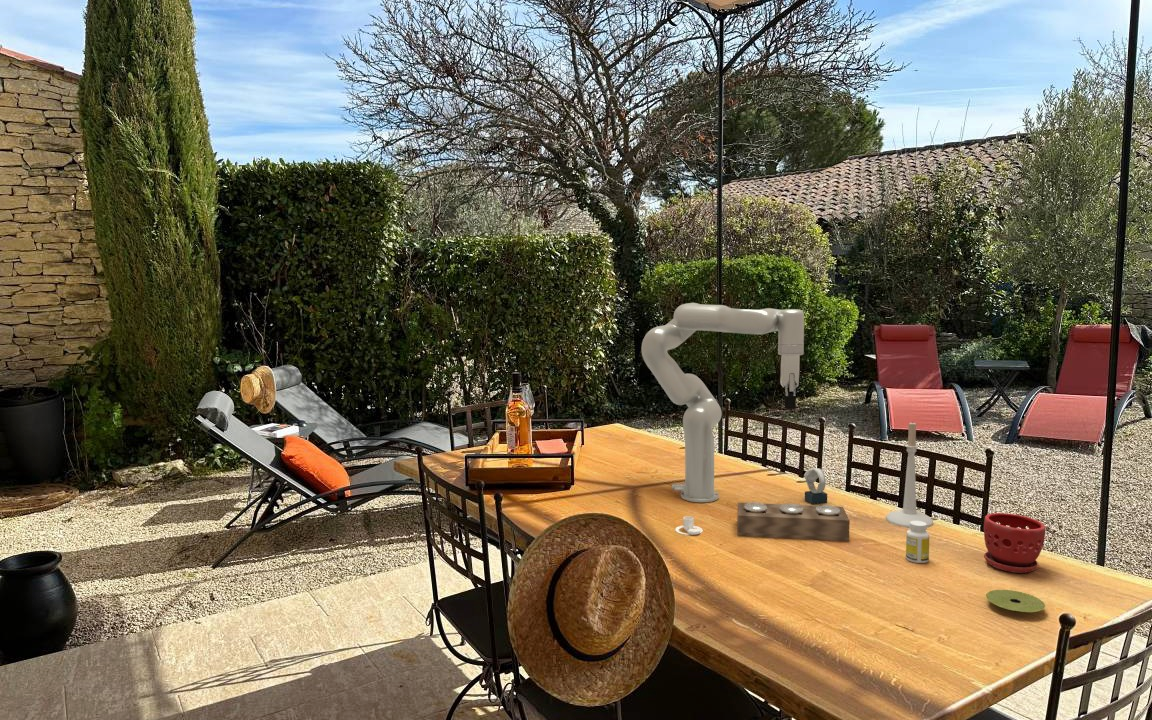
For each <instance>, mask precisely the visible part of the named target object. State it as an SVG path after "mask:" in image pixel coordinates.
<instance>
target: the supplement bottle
mask: <svg viewBox="0 0 1152 720" xmlns="http://www.w3.org/2000/svg"><path fill="white" fill-rule="evenodd" d="M927 530H928V527H927V524H926V523H925V522H922V521H911V522H910V528H908V530H907V531H906V535H905V536H906V537H905V538H906V540H905V541H906V543H905V558H906V559H907V561H909V562H911V563H917V564H926V563H928V562H929V559H930V533H929V532H928V531H927Z"/></svg>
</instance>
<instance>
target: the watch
mask: <svg viewBox="0 0 1152 720" xmlns="http://www.w3.org/2000/svg"><path fill="white" fill-rule="evenodd" d="M803 477H804V478H805V483H806V484H807V487H808V489H809V490H808V491H804V501H805V502H806V503H807V504H809V505H811V506H816V505H824V504H828V493H827V492H825V489H826V482H827V481H826V475H825V473H824V471H823V470H822V469H821V468H818V467H817V468H816V467H812V468H811V467H810V468H809V469H807V470H806V471H805V473H804V475H803ZM817 479H818V481H819V482H818V484H817V488H816V485H815V482H816V480H817Z"/></svg>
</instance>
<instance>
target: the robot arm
mask: <svg viewBox="0 0 1152 720" xmlns="http://www.w3.org/2000/svg"><path fill="white" fill-rule="evenodd" d="M697 331H703V332H705V331H706V332H707V331H708V332H721V333H733V334H743V335H744V334H745V335H766V334H769V333H773V332H778V335H777V339H778V342H777V344H778V345H777V351H778V355H779V356H781V358H780V381H779V382H780V385H781V387H782V388H784V389H785V390H784V391H785V394H784V409H785V410H795V409H796V406H797V402H796V401H797V398H796V397H797V396H796V388H798V387H799V382H800V381H799V380H800V359H801V358H800V356H803V355H804V353H805V352H804V347H805V346H804V345H805V342H804V341H805V340H804V339H805V313H804V311H803V310H802V309H799V308H797V309H796V308H794V309H793V308H791V309H789V308H788V309H787V308H786V309H777V308H771V307H768V308H767V307H766V308H761V309H743V308H742V309H741V308H733V307H732V308H731V307H730V306H727V305H723V304H703V303H702V304H700V303H697V302H690V303H682V304H680V305H679V306H678V307H676V309H675V310H674V312H673V318H672V319H671V320H670V321H668V323H666V324H665V325H659V326H658V325H657V326H656V327H653V328H650V330H649V331H647V332H646V333H645V336H644V338H643V339H642V343H641V356H642V359H643V361H644V363H645V364H646V366H647V368H648V369H649V370H650V371H651V373H652V375H653V376H654V377H655V379H656V381H657V382H658V384H659V385H660V386H661V388H662V390H664V392H665V394H666V395H667V397H668V398H669V399H670V401H671V402H672V403H673V404H675V405H678V406H683V405H686V406H687V409H686V410H685V412H684V414H683V416H682V417H683V418H682V427H683V433H684V458H685V459H684V466H685V467H684V473H685V474H684V480H685V481H684V483H683V482H682V483H680V484H678V483H671V490H672V491H673V490H674V492H680V498H681V499H683V501H688V502H691V503H711V502H712V503H713V502H715V501H717V500H718V499H719V498H720V494H719V492H717V491H716V490H715V440H714V432H713V427H716V425H718V424H719V423H720V421H721V419H722V415H723V414H722V408H721V406H720V405H719V403H718V402H717V400H716V399H715V397H714V396H713V394H712V393H711V391H710V390H709V389H708V387H707V385H706V384H705V383H704V382H703V381H702V380H701V378H699V377H698V375H696V374H693V373H685V372H684V371H683V370H682V368H680V366H679V364H678V363H677V362H676V361H675V359H674V358H673V357H672V356H670V354H669V353H668V351H670V350H673V349H676V348H677V347H679V346H681V344H683V343H684V342H685V341H686V340H688V339H689V338H690V337H691V336H692V335H693V334H694V333H695V332H697Z"/></svg>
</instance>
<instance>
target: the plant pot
mask: <svg viewBox="0 0 1152 720" xmlns="http://www.w3.org/2000/svg"><path fill="white" fill-rule="evenodd" d="M1027 527H1028V528H1029V529H1028V528H1027ZM983 535H984V538H983V539H984V544H985V547H986V550H987V551H986V552H985V553H984V555H983V556H984V559H985V561H986V562H987V563H988V564H989V565H990V566H992V567H994V569H997V570H998V569H999V570H1002V571H1004V572H1010V573H1017V574H1020V573H1021V574H1023V573H1031V572H1033V571H1035V570H1037V568H1038V566H1039V564H1038V561H1037V559H1038V557H1039V556H1040V554H1041V552H1042V550H1043V546H1044V542H1045V538H1046V537H1045V535H1046V526H1045V524H1044V523H1042V522H1041V521H1039V520H1037V519H1034V518H1031V517H1028V516H1025V515H1020V514H1019V515H1018V514H1015V513H1014V514H1013V513H1007V512H1006V513H1005V512H994V513H993V512H992V513H989V514H986V515H985V516H984V522H983Z"/></svg>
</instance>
